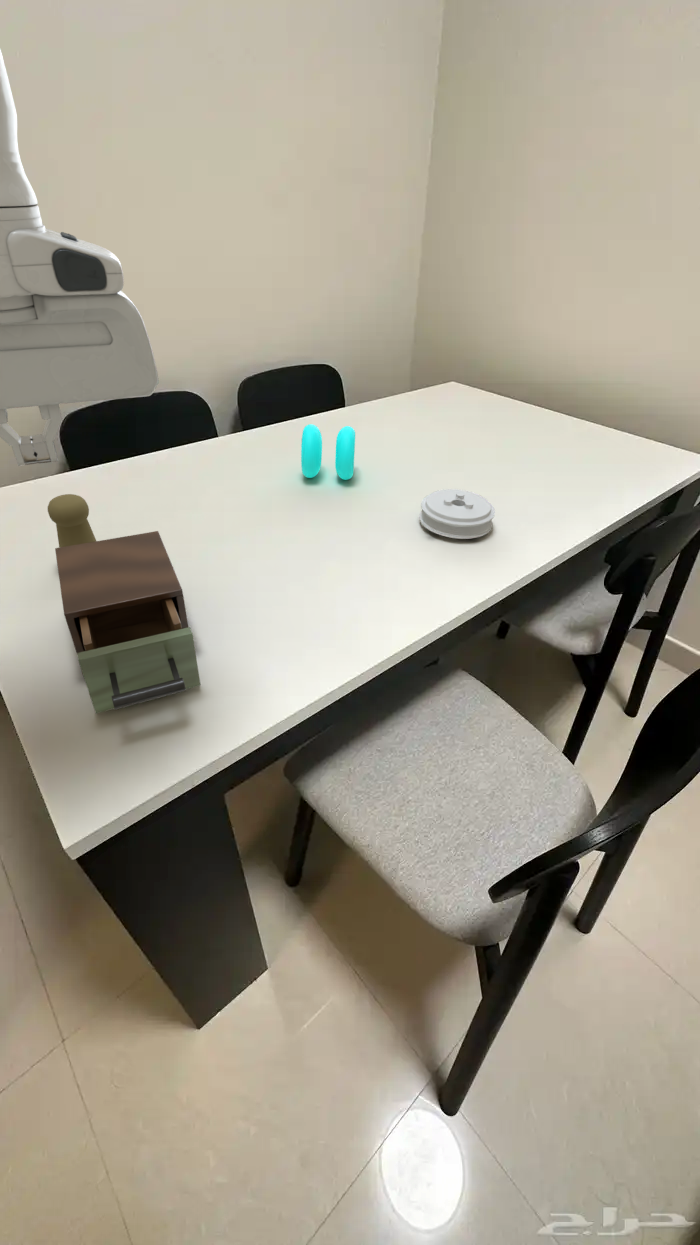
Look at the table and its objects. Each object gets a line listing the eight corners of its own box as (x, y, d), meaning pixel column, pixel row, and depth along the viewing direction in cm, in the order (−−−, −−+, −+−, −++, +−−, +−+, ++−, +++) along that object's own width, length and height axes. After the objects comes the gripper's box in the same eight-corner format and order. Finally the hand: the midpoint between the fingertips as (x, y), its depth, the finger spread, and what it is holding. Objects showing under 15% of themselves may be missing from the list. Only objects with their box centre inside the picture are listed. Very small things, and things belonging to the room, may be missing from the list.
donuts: (352, 488, 111) (355, 437, 105) (300, 486, 111) (300, 434, 105) (353, 467, 119) (356, 419, 113) (305, 465, 119) (304, 416, 113)
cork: (114, 563, 88) (98, 496, 81) (80, 581, 83) (60, 512, 77) (87, 551, 90) (69, 485, 83) (53, 568, 86) (31, 500, 79)
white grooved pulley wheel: (471, 505, 108) (476, 480, 105) (504, 539, 99) (510, 513, 96) (408, 512, 105) (411, 486, 102) (435, 547, 96) (439, 520, 92)
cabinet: (192, 652, 73) (182, 589, 67) (85, 678, 68) (63, 614, 62) (168, 589, 83) (158, 530, 77) (74, 609, 78) (54, 548, 72)
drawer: (211, 714, 63) (203, 661, 59) (101, 746, 59) (83, 692, 55) (175, 618, 76) (167, 568, 72) (83, 639, 72) (67, 588, 67)
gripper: (-240, 266, 32) (-124, 497, 40) (144, 263, 39) (174, 459, 48) (-211, 252, 36) (-112, 463, 45) (130, 251, 44) (159, 433, 52)
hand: (38, 461), depth 46 cm, fingers closed
